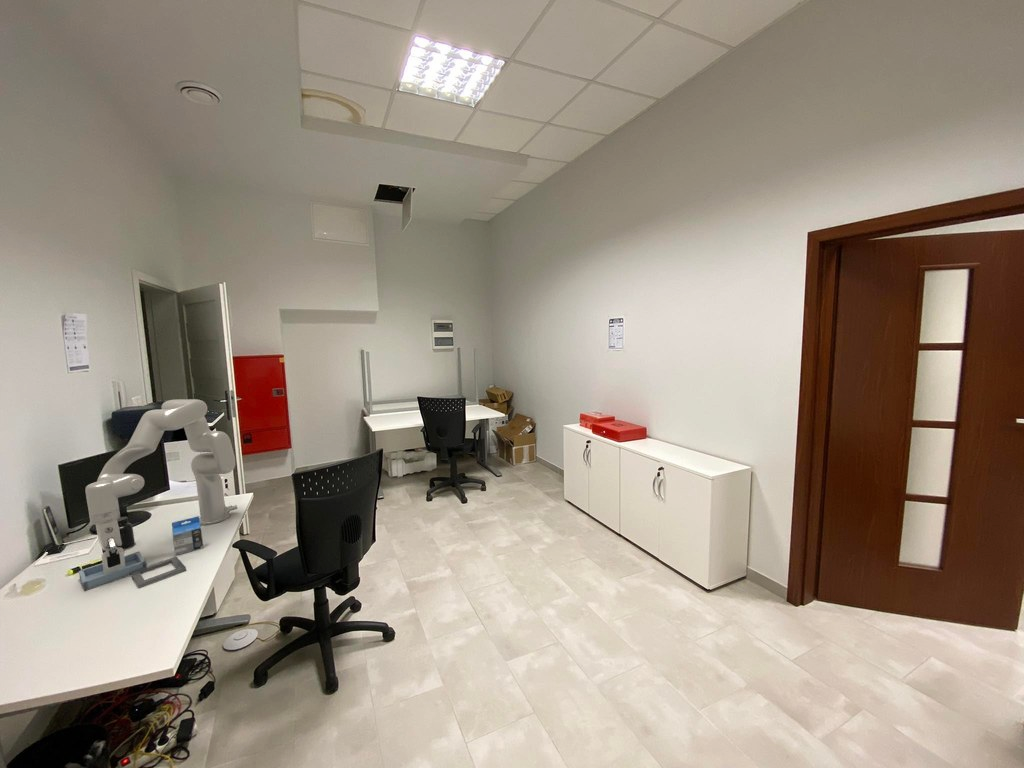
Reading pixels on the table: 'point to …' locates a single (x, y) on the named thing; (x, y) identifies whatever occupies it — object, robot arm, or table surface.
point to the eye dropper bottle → (114, 568)
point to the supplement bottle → (125, 533)
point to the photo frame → (66, 556)
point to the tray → (97, 577)
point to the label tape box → (187, 535)
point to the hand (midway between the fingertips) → (112, 561)
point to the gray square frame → (141, 582)
